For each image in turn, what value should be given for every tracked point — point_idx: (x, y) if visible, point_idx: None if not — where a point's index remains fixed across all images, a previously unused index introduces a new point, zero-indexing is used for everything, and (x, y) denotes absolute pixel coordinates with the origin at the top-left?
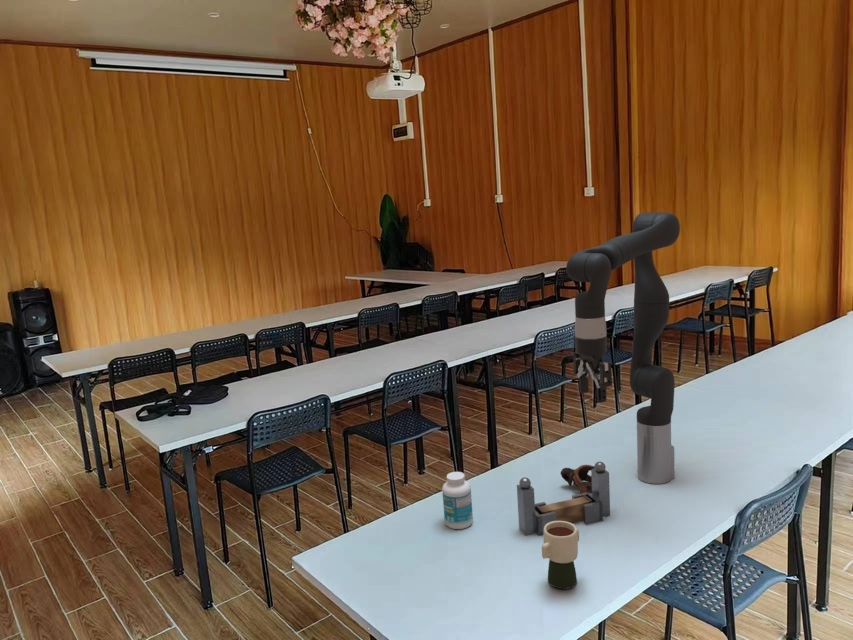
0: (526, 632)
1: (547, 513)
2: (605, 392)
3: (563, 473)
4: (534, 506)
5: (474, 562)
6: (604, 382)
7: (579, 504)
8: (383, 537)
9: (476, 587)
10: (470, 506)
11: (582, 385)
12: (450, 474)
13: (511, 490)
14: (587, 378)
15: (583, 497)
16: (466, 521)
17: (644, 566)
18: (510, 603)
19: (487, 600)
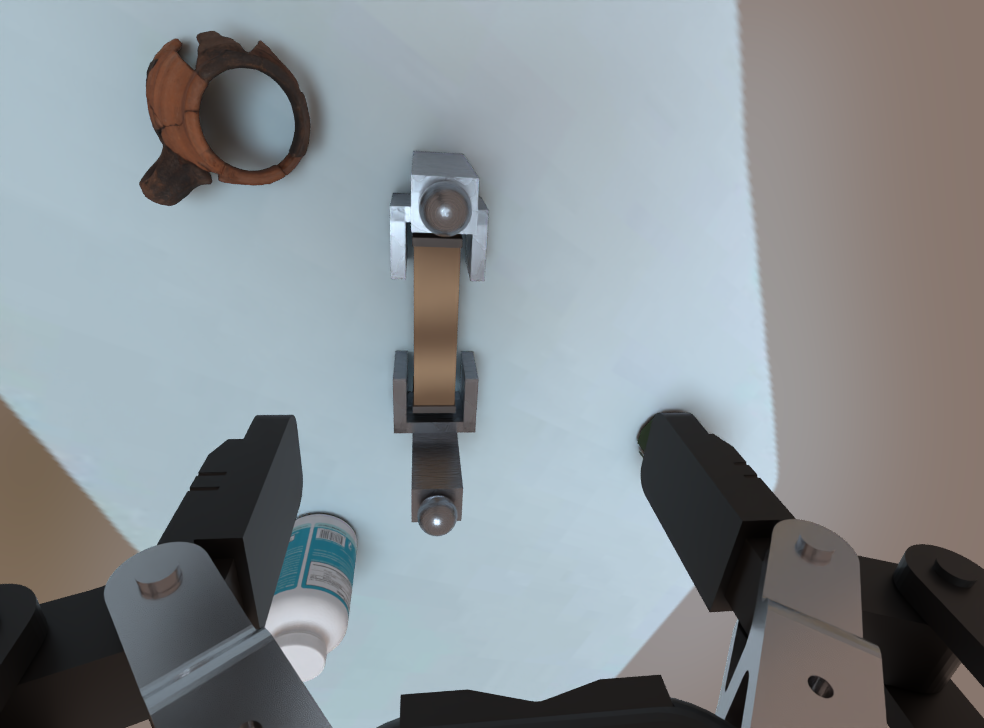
0: None
1: (466, 401)
2: (768, 502)
3: (177, 202)
4: (458, 449)
5: (502, 550)
6: (972, 706)
7: (458, 286)
8: None
9: (582, 566)
10: (339, 560)
11: (281, 539)
12: None
13: (158, 360)
14: (243, 545)
15: (421, 249)
16: (354, 545)
17: (733, 239)
18: (658, 533)
19: (627, 561)
